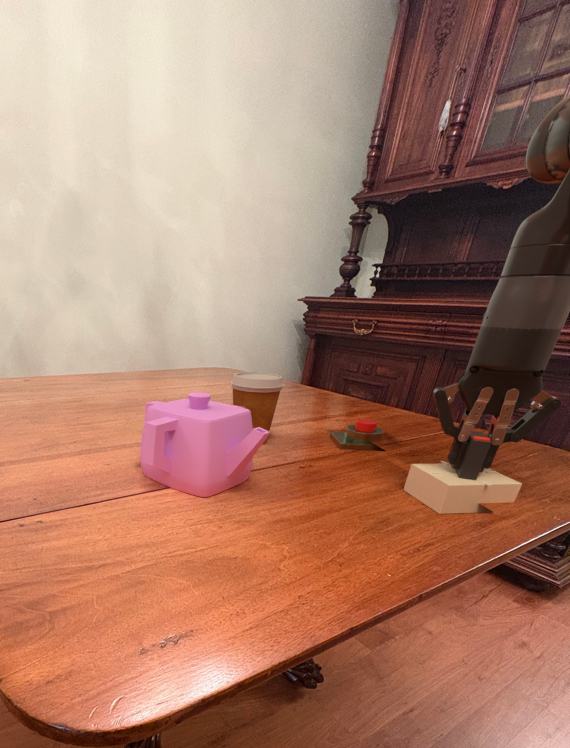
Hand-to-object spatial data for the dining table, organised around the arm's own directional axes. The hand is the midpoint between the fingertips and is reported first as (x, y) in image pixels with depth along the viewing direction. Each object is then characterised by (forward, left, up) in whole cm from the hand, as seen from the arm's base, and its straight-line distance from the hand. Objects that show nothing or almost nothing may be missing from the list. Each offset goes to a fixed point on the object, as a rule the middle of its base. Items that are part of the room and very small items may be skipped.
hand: (466, 468), depth 57 cm
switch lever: (0, 0, -1) cm, 1 cm away
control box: (0, 0, -5) cm, 5 cm away
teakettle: (+34, -11, -5) cm, 36 cm away
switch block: (0, -26, -5) cm, 26 cm away
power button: (0, -26, -2) cm, 26 cm away
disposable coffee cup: (+21, -29, -5) cm, 36 cm away
